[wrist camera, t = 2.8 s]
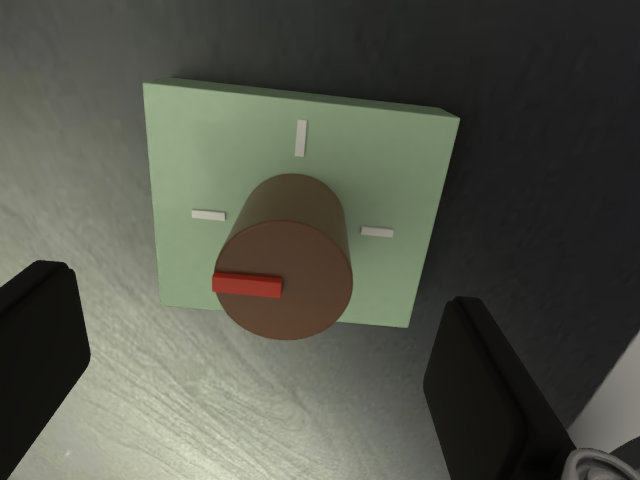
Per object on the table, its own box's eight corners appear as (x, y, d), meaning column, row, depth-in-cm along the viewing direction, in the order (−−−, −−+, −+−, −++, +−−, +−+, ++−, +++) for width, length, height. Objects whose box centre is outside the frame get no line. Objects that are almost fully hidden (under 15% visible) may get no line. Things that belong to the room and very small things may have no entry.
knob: (351, 178, 16) (364, 233, 11) (338, 272, 18) (344, 352, 13) (243, 167, 16) (209, 217, 11) (241, 263, 18) (211, 341, 13)
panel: (440, 107, 18) (462, 118, 15) (397, 294, 22) (408, 330, 19) (170, 77, 17) (139, 82, 14) (180, 274, 22) (158, 308, 19)
